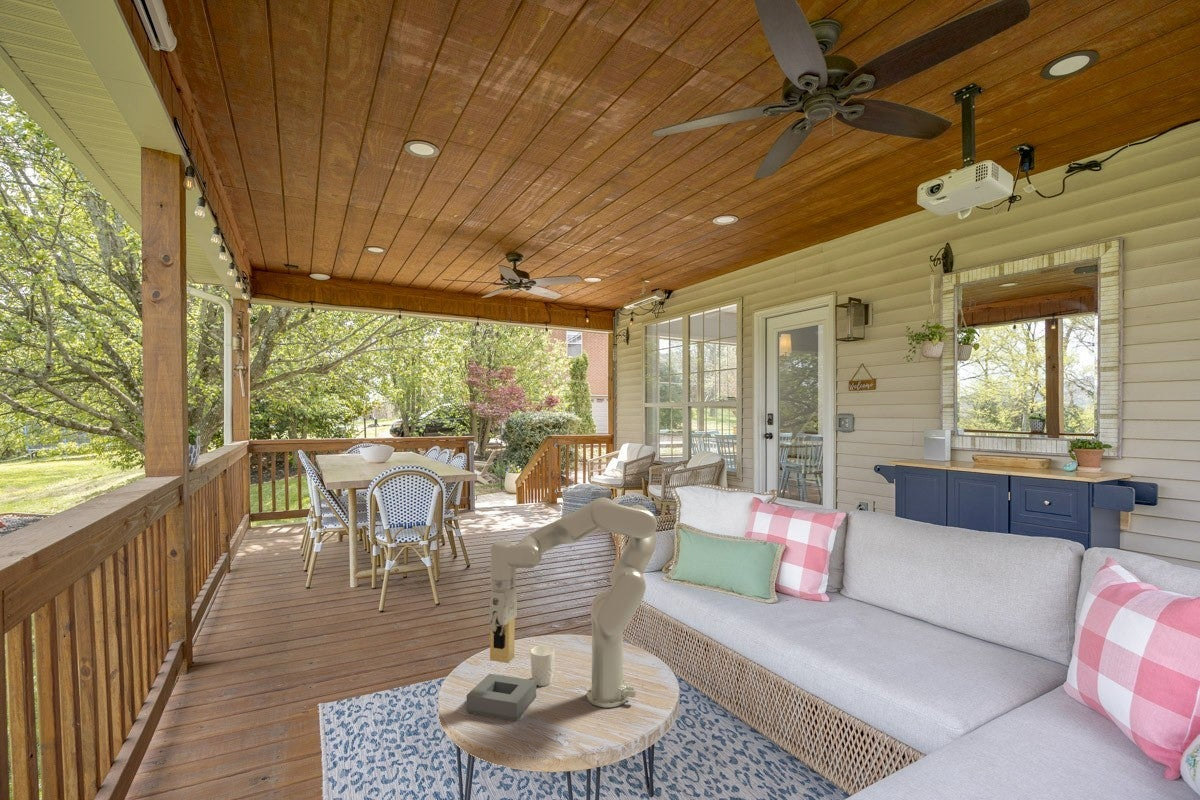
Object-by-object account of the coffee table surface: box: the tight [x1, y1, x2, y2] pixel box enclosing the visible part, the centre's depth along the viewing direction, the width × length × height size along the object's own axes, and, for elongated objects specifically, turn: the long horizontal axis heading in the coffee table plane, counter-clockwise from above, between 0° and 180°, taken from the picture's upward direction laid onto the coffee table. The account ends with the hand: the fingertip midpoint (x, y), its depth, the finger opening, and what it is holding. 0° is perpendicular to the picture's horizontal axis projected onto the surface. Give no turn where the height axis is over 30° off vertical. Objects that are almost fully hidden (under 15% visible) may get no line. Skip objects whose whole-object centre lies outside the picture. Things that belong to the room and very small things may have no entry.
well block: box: [465, 673, 537, 722], centre depth 165 cm, size 16×14×5 cm
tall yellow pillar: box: [489, 617, 516, 664], centre depth 165 cm, size 6×4×12 cm, turn 74°
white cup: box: [530, 645, 556, 687], centre depth 180 cm, size 8×8×10 cm
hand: (502, 644), depth 165 cm, fingers closed on tall yellow pillar, 4 cm apart
